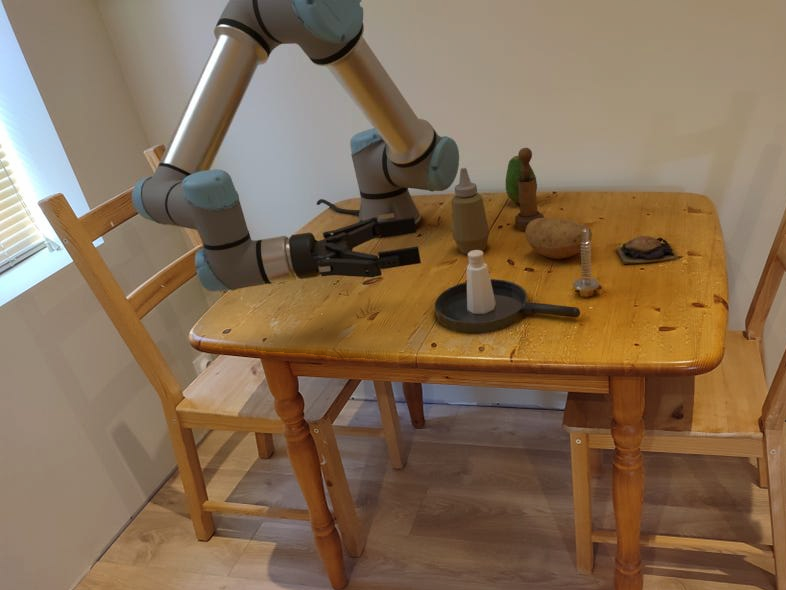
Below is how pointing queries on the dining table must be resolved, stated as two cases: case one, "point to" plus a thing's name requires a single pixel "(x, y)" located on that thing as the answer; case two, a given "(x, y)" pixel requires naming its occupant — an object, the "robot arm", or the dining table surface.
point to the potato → (555, 237)
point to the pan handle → (550, 309)
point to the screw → (586, 269)
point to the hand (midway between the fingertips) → (417, 238)
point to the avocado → (515, 178)
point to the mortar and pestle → (526, 193)
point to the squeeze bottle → (468, 216)
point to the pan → (460, 319)
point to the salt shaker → (479, 285)
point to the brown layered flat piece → (645, 250)
